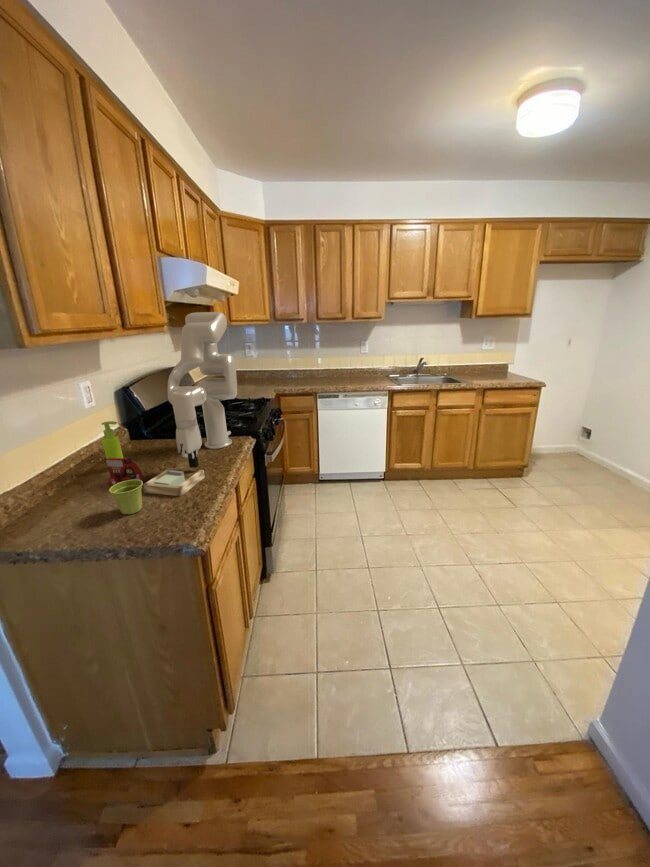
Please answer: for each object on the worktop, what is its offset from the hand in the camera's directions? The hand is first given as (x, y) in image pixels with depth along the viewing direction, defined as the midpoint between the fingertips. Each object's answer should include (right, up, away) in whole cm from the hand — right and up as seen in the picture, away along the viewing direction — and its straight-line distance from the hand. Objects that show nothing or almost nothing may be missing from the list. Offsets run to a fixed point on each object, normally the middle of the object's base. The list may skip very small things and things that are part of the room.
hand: (194, 466), depth 141 cm
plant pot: (-10, -12, -27) cm, 31 cm away
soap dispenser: (-34, -1, +6) cm, 34 cm away
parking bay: (-3, -6, -11) cm, 13 cm away
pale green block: (-4, -6, -12) cm, 14 cm away
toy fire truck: (-22, -6, -9) cm, 24 cm away
